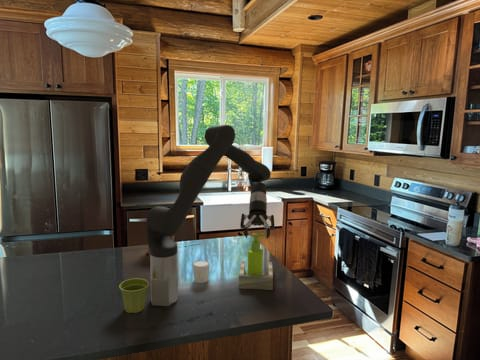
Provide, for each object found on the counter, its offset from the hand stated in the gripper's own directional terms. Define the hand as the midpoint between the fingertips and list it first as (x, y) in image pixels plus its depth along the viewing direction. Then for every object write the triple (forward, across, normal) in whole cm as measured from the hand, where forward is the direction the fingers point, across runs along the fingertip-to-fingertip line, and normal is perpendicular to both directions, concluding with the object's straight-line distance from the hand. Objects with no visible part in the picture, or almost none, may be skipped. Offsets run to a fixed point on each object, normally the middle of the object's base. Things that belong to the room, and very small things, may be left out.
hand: (256, 237), depth 137 cm
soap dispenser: (+16, 0, +7) cm, 18 cm away
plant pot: (+34, -40, -10) cm, 53 cm away
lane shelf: (+14, 0, +9) cm, 17 cm away
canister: (-3, -47, +27) cm, 54 cm away
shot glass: (+16, -22, +7) cm, 28 cm away
